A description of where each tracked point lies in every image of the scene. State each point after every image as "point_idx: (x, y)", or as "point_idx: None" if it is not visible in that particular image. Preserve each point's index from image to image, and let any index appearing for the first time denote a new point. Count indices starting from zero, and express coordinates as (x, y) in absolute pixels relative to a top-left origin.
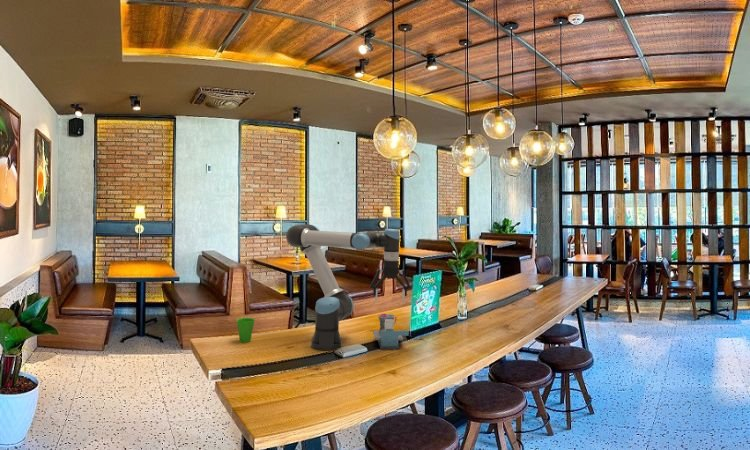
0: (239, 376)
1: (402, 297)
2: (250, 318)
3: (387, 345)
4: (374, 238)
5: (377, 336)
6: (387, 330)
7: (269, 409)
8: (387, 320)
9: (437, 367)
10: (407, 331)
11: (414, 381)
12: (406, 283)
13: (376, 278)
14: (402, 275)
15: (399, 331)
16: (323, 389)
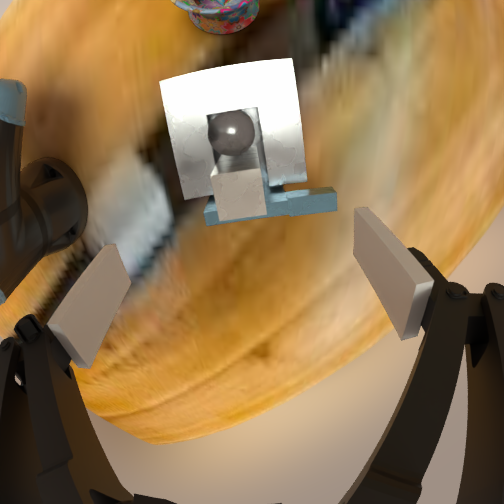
0: None
1: (371, 242)
2: None
3: None
4: None
5: (190, 175)
6: None
7: (131, 423)
8: (228, 205)
9: (369, 315)
10: (331, 210)
11: (302, 377)
12: (468, 393)
13: (38, 469)
14: (496, 489)
15: (293, 215)
16: (159, 401)
